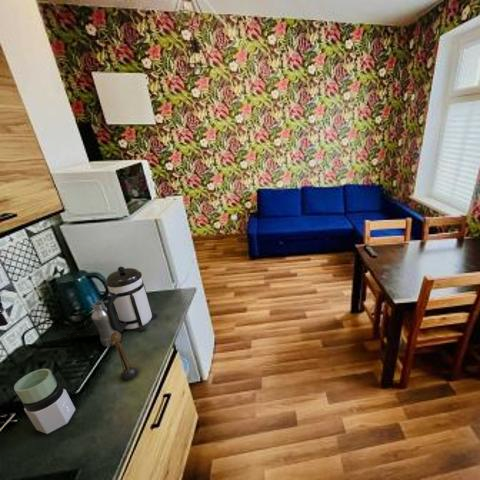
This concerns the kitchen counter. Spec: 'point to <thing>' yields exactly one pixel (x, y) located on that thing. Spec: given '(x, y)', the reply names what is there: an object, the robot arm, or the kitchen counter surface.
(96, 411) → the kitchen counter surface
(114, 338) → the wooden tabletop sculpture
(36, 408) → the jar
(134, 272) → the coffee press
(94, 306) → the plastic bottle
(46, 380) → the green cup
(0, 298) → the robot arm
